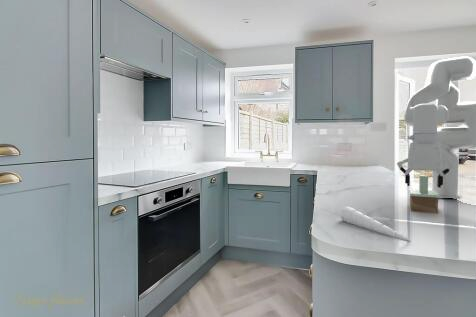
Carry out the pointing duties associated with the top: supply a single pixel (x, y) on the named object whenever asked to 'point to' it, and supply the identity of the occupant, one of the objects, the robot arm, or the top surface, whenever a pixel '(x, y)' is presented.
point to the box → (424, 204)
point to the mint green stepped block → (423, 188)
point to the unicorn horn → (368, 222)
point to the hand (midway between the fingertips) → (423, 186)
